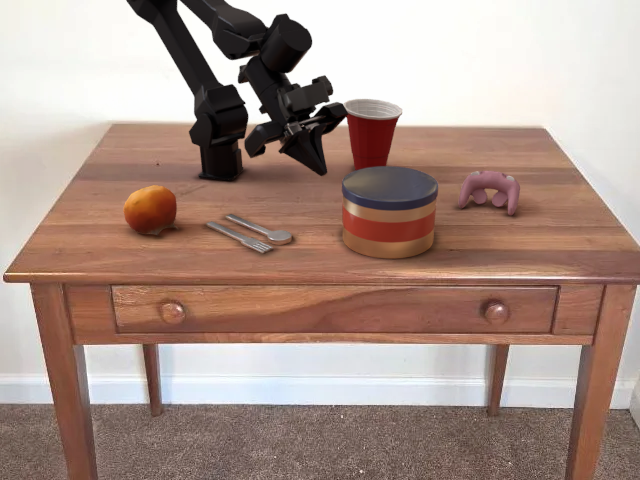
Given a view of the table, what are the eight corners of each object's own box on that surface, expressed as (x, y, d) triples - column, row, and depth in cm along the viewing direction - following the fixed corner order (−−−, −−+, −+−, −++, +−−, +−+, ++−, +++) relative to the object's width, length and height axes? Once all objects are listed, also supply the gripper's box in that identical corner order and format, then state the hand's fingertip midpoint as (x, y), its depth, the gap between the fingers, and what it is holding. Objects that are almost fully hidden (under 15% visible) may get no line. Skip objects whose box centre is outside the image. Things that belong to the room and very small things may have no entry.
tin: (331, 252, 110) (331, 195, 105) (353, 215, 122) (353, 162, 117) (426, 264, 108) (431, 206, 103) (439, 224, 120) (444, 170, 115)
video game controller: (516, 217, 126) (524, 176, 125) (514, 215, 122) (522, 172, 121) (459, 209, 129) (466, 168, 128) (455, 207, 124) (462, 164, 123)
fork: (203, 227, 117) (203, 224, 117) (214, 222, 119) (214, 220, 118) (262, 254, 110) (262, 250, 109) (273, 249, 111) (273, 246, 111)
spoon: (219, 220, 119) (219, 216, 119) (237, 214, 122) (236, 209, 121) (279, 247, 112) (278, 242, 111) (296, 239, 114) (296, 234, 114)
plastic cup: (394, 182, 135) (398, 116, 128) (336, 177, 136) (336, 111, 130) (403, 162, 144) (407, 99, 137) (349, 157, 145) (349, 95, 139)
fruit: (161, 238, 110) (135, 188, 108) (133, 251, 115) (107, 204, 113) (199, 219, 116) (174, 172, 114) (170, 233, 121) (146, 188, 119)
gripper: (252, 70, 106) (308, 163, 106) (340, 50, 118) (390, 134, 118) (221, 113, 115) (272, 200, 115) (306, 90, 127) (353, 169, 127)
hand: (324, 174), depth 119 cm, fingers closed
